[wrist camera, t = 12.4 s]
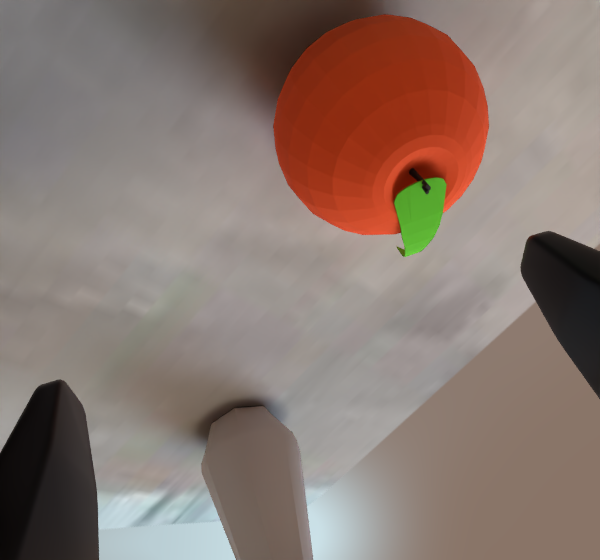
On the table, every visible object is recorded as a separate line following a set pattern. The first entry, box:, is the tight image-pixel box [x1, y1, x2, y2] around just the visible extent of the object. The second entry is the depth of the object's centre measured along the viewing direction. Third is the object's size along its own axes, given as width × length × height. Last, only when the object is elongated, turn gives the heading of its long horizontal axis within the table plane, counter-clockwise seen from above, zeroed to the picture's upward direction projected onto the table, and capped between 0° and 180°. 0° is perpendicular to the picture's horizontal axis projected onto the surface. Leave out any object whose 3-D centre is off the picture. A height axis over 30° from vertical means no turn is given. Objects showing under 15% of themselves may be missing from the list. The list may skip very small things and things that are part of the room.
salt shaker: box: [201, 406, 313, 560], centre depth 29 cm, size 6×6×13 cm
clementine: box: [273, 14, 489, 257], centre depth 18 cm, size 8×7×7 cm
